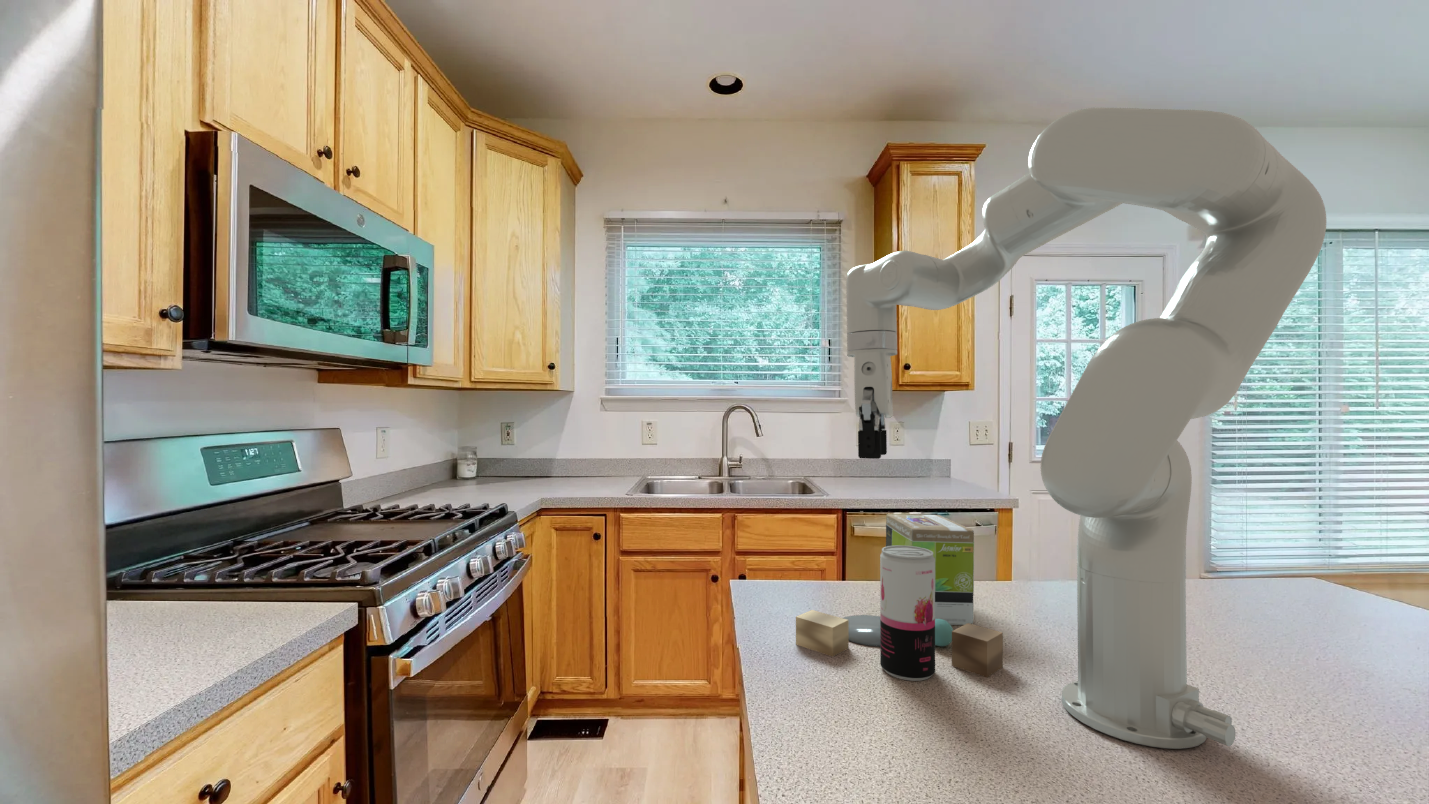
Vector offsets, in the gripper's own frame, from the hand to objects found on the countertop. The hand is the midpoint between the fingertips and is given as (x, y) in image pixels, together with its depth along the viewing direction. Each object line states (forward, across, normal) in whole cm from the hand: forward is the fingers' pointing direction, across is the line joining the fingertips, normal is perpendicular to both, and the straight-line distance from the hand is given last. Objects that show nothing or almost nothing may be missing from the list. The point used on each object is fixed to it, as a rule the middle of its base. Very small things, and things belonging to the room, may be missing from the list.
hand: (873, 456), depth 90 cm
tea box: (+26, +11, -7) cm, 29 cm away
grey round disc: (+26, -3, 0) cm, 26 cm away
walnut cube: (+26, -10, -14) cm, 31 cm away
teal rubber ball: (+24, -5, -9) cm, 26 cm away
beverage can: (+26, -15, -5) cm, 31 cm away
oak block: (+26, -11, +6) cm, 29 cm away
